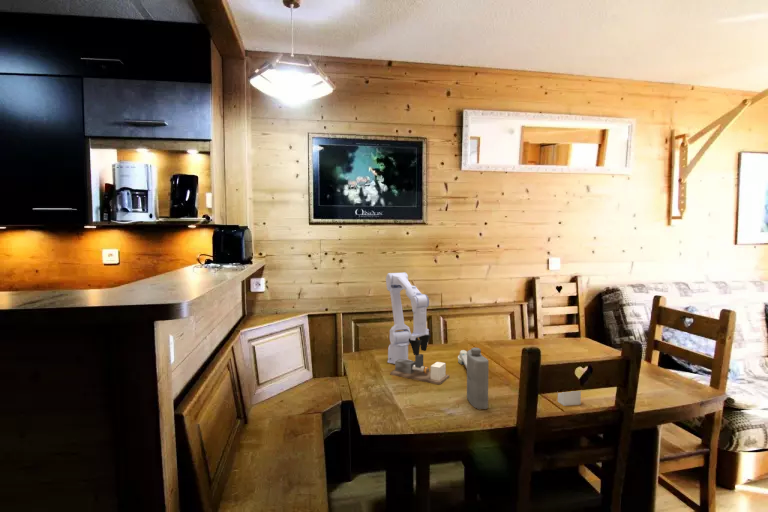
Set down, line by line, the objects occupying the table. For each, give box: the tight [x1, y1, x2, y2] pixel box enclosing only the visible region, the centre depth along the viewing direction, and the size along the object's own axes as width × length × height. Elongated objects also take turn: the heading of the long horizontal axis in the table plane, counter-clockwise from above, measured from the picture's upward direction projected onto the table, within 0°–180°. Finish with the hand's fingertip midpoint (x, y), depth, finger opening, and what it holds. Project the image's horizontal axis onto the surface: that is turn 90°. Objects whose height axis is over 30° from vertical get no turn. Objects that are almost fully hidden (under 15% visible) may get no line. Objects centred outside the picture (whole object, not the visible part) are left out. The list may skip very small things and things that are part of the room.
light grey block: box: [557, 390, 582, 407], centre depth 145 cm, size 4×7×10 cm, turn 99°
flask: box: [466, 347, 489, 410], centre depth 146 cm, size 15×6×20 cm, turn 2°
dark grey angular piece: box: [412, 353, 430, 374], centre depth 175 cm, size 14×3×8 cm, turn 59°
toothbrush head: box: [457, 349, 468, 369], centre depth 182 cm, size 5×7×25 cm
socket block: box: [430, 361, 447, 381], centre depth 169 cm, size 4×7×6 cm, turn 149°
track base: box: [389, 359, 450, 386], centre depth 174 cm, size 24×10×5 cm, turn 59°
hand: (419, 352), depth 173 cm, fingers open, 7 cm apart
